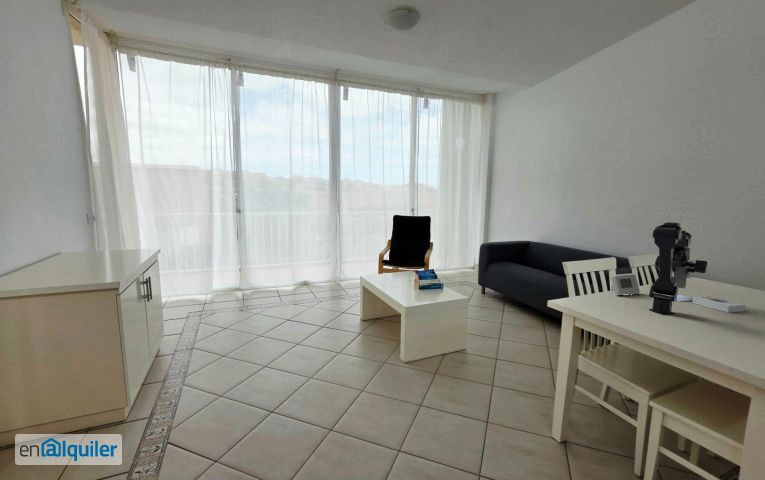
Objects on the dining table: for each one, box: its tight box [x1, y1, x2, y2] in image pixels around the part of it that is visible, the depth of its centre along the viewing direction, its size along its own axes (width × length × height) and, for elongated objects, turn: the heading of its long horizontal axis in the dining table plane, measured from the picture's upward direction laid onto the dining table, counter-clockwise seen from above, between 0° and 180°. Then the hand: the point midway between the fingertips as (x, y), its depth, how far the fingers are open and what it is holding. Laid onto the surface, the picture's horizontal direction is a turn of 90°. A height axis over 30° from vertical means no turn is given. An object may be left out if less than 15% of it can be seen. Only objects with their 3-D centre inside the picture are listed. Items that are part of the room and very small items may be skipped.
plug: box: [673, 267, 688, 289], centre depth 163 cm, size 4×4×14 cm
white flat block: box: [691, 294, 747, 313], centre depth 151 cm, size 10×14×4 cm
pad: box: [667, 294, 693, 303], centre depth 164 cm, size 10×10×1 cm
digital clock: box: [610, 273, 641, 295], centre depth 171 cm, size 16×9×11 cm, turn 95°
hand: (681, 274), depth 164 cm, fingers closed on plug, 4 cm apart
